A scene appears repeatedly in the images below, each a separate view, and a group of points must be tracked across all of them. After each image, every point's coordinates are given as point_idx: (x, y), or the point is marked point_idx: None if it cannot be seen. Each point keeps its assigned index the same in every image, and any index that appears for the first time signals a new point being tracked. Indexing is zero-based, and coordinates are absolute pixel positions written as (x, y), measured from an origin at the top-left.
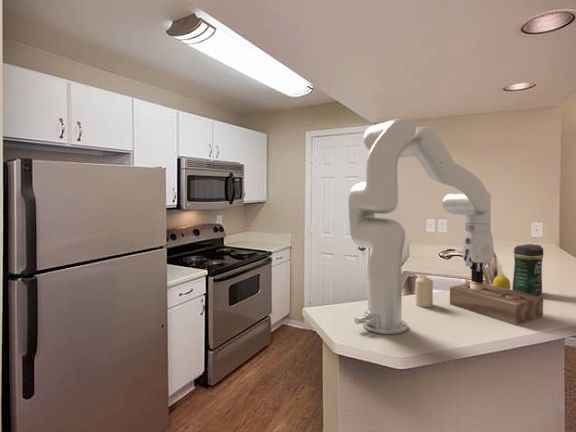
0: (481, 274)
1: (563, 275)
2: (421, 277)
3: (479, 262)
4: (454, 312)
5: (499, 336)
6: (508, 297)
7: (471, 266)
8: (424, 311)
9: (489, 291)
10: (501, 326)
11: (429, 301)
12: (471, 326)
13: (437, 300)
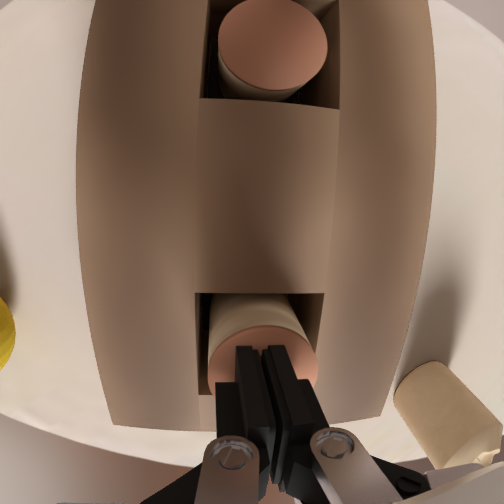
0: (269, 400)
1: None
2: None
3: (485, 474)
4: (430, 273)
5: (493, 46)
6: (320, 52)
7: (440, 472)
8: (478, 331)
9: (281, 230)
10: None
11: (447, 373)
12: (499, 141)
13: None
